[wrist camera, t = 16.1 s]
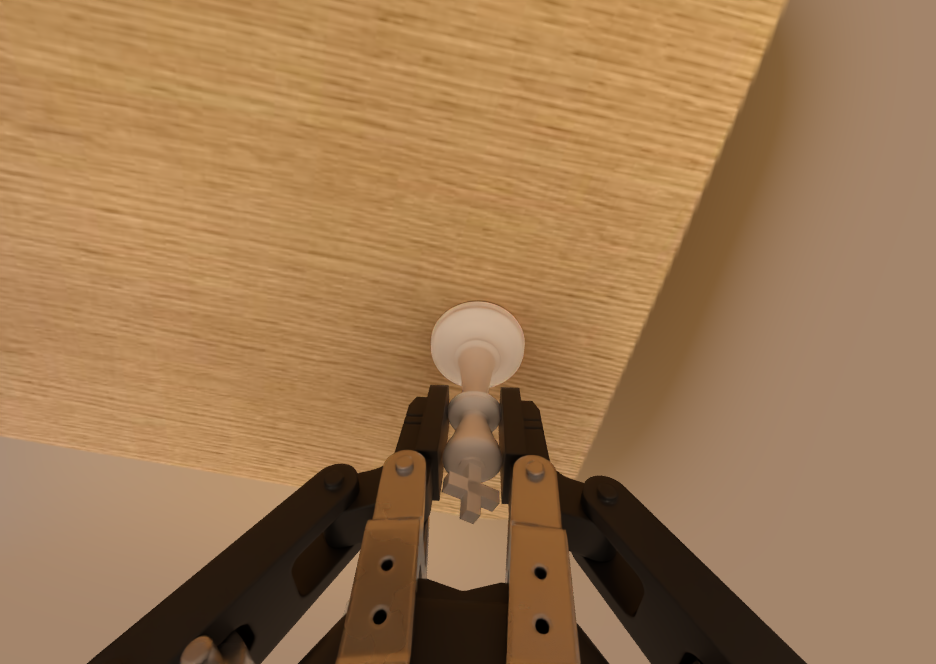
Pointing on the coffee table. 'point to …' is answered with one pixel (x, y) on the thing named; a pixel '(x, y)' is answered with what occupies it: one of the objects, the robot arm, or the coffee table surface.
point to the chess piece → (475, 396)
